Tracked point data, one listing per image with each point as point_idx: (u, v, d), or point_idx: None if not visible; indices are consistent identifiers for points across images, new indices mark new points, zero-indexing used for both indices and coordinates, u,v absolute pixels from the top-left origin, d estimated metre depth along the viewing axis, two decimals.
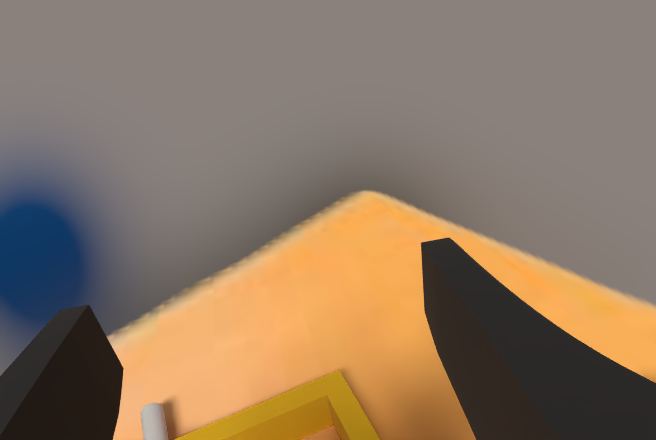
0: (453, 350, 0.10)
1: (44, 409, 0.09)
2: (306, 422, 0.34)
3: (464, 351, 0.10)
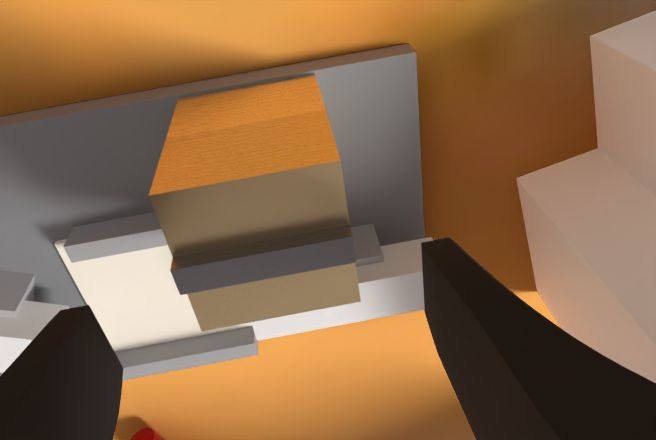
0: (453, 350, 0.10)
1: (44, 409, 0.09)
2: None
3: (464, 351, 0.10)
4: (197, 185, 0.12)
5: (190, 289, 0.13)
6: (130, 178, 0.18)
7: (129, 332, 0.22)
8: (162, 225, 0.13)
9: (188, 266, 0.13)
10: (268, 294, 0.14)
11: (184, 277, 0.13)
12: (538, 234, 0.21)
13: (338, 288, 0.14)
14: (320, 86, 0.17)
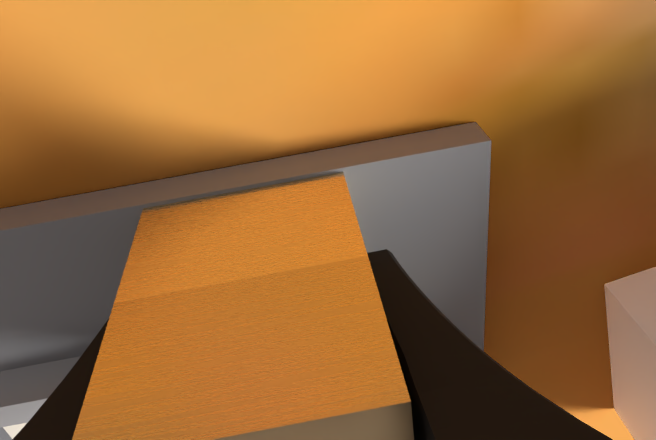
0: None
1: None
2: None
3: None
4: None
5: None
6: (79, 311, 0.13)
7: None
8: None
9: None
10: None
11: None
12: (635, 361, 0.16)
13: None
14: (350, 188, 0.12)
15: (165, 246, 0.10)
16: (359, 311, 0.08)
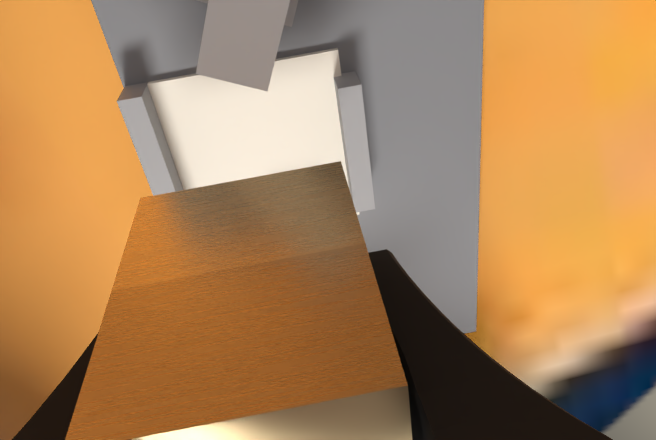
0: None
1: None
2: None
3: None
4: (150, 430, 0.07)
5: None
6: (406, 137, 0.18)
7: (187, 110, 0.16)
8: None
9: None
10: None
11: None
12: None
13: None
14: (464, 280, 0.22)
15: (163, 235, 0.10)
16: (356, 297, 0.08)
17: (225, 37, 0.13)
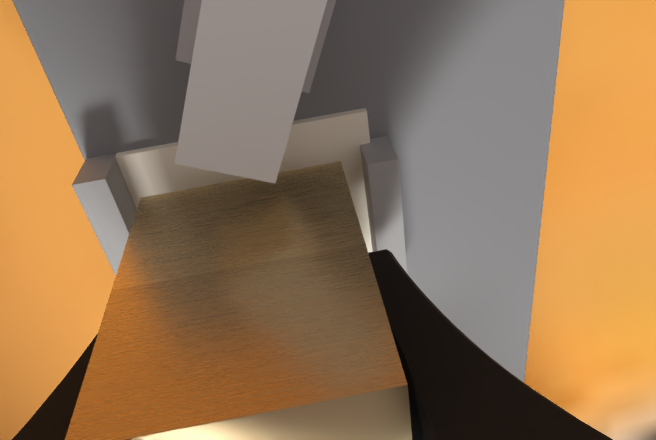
0: None
1: None
2: None
3: None
4: (150, 430, 0.07)
5: None
6: (449, 213, 0.14)
7: (169, 188, 0.13)
8: None
9: None
10: None
11: None
12: None
13: None
14: (509, 369, 0.18)
15: (163, 234, 0.10)
16: (356, 297, 0.08)
17: (215, 115, 0.09)
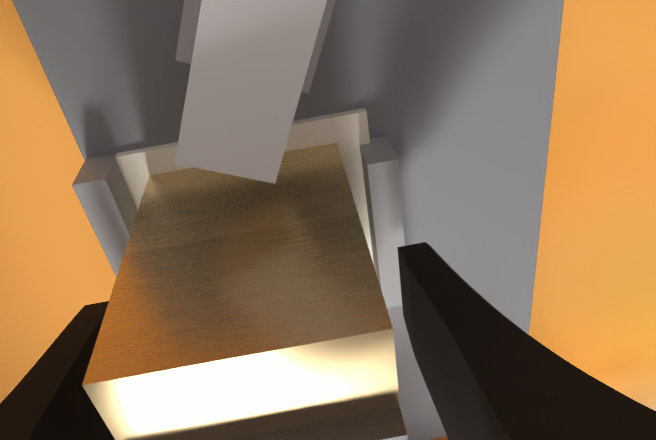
0: (427, 355, 0.10)
1: (74, 403, 0.09)
2: None
3: (437, 356, 0.10)
4: (162, 367, 0.08)
5: None
6: (448, 213, 0.14)
7: None
8: (108, 416, 0.08)
9: None
10: None
11: None
12: None
13: None
14: None
15: (170, 206, 0.11)
16: (349, 258, 0.09)
17: (215, 115, 0.09)
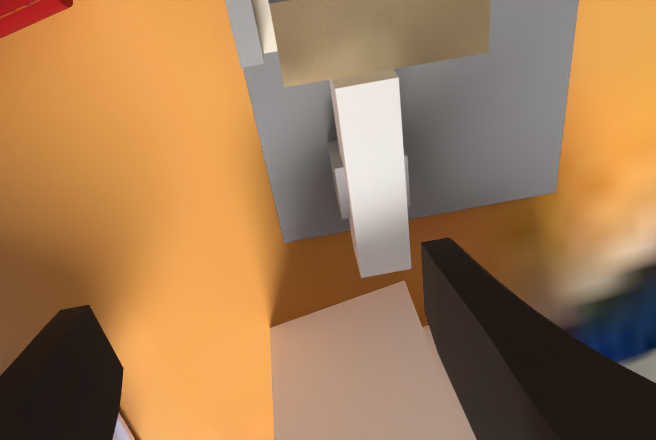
0: (453, 350, 0.10)
1: (44, 409, 0.09)
2: None
3: (464, 351, 0.10)
4: None
5: None
6: None
7: None
8: None
9: None
10: (375, 29, 0.11)
11: None
12: (371, 317, 0.23)
13: (464, 27, 0.11)
14: (549, 121, 0.20)
15: None
16: None
17: None
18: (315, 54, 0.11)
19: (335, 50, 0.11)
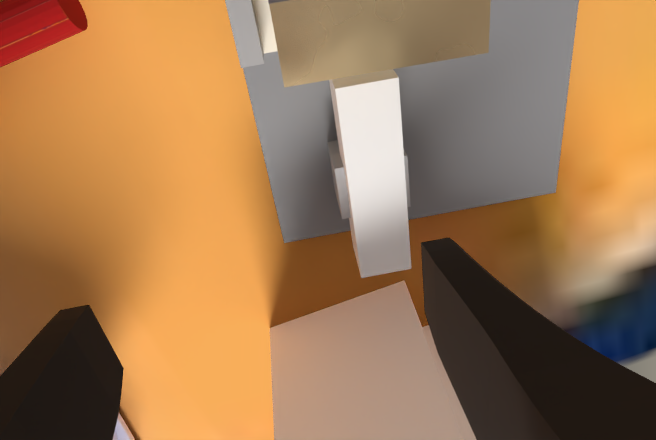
0: (453, 350, 0.10)
1: (44, 409, 0.09)
2: None
3: (464, 351, 0.10)
4: None
5: None
6: None
7: None
8: None
9: None
10: (375, 29, 0.11)
11: None
12: (371, 317, 0.23)
13: (464, 27, 0.11)
14: (549, 121, 0.20)
15: None
16: None
17: None
18: (315, 54, 0.11)
19: (335, 50, 0.11)
